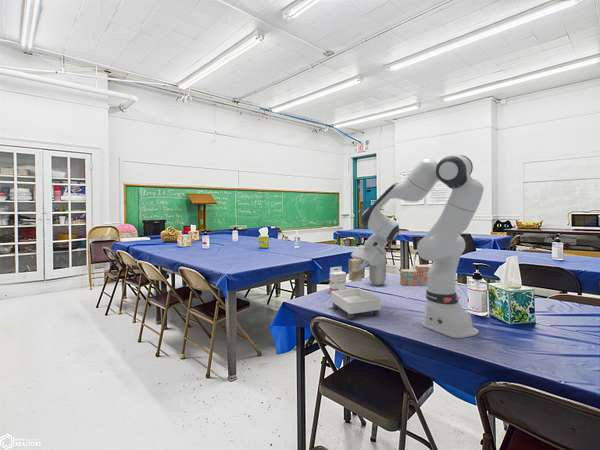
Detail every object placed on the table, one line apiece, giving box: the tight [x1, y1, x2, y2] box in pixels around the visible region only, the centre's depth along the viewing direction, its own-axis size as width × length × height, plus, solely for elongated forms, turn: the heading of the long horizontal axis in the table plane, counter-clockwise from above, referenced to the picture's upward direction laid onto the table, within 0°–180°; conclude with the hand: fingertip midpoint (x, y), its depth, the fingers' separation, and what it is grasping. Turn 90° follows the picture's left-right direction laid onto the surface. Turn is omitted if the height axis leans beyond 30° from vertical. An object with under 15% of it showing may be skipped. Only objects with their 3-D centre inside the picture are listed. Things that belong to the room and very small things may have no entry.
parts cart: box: [330, 287, 382, 320], centre depth 158 cm, size 20×16×8 cm
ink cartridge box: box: [329, 265, 347, 293], centre depth 191 cm, size 9×5×15 cm, turn 115°
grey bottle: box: [368, 255, 387, 286], centre depth 205 cm, size 10×10×28 cm
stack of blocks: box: [399, 264, 432, 287], centre depth 205 cm, size 21×6×12 cm, turn 85°
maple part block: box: [348, 258, 363, 282], centre depth 158 cm, size 4×4×10 cm
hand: (355, 267), depth 158 cm, fingers closed on maple part block, 4 cm apart
